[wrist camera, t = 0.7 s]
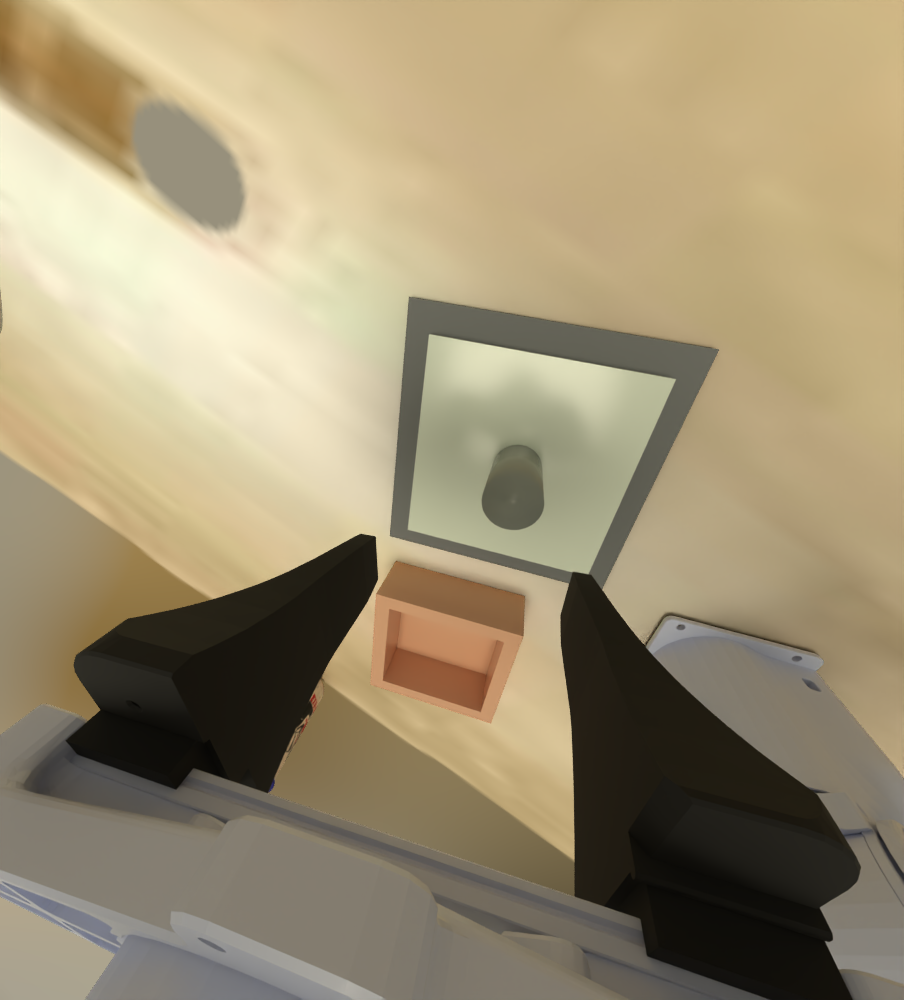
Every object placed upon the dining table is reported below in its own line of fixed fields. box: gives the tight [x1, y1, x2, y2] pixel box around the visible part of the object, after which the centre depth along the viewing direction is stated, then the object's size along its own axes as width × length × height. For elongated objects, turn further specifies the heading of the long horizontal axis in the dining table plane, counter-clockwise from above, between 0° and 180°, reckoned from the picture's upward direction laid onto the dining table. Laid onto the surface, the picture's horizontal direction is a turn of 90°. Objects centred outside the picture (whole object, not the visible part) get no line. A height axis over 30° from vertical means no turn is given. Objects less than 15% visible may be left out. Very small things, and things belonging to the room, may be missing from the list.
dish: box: [370, 561, 525, 723], centre depth 26 cm, size 10×10×4 cm
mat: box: [390, 297, 719, 589], centre depth 20 cm, size 15×15×1 cm
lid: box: [408, 334, 676, 574], centre depth 17 cm, size 12×12×5 cm
